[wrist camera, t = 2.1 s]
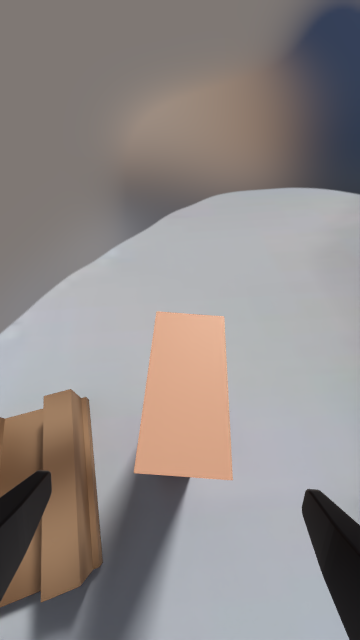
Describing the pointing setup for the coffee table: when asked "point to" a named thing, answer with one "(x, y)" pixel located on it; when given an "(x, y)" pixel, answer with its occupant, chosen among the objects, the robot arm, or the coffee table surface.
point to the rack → (54, 494)
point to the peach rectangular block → (186, 400)
